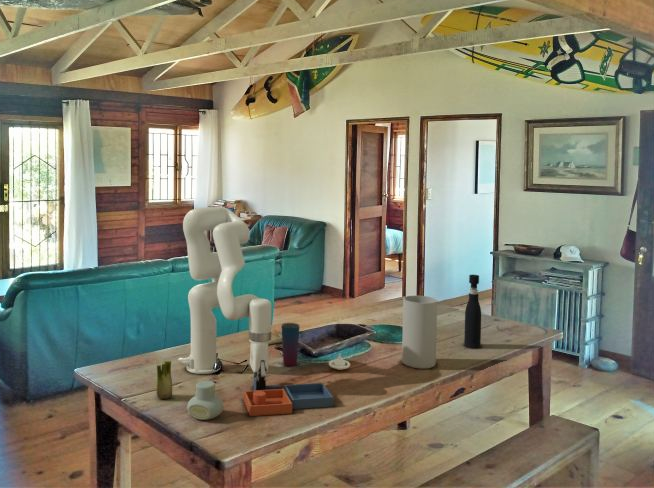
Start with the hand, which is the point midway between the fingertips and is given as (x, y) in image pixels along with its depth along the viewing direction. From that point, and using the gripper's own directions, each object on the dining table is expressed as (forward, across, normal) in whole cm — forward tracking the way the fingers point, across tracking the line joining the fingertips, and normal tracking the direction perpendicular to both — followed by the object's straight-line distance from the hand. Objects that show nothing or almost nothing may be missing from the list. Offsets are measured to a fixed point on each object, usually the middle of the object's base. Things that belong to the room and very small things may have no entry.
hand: (259, 388), depth 204 cm
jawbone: (0, -53, +14) cm, 55 cm away
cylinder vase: (0, -16, +65) cm, 67 cm away
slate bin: (0, +11, +14) cm, 18 cm away
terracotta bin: (0, +14, 0) cm, 14 cm away
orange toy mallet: (0, +14, 0) cm, 14 cm away
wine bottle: (0, -33, +97) cm, 102 cm away
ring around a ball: (0, -15, +33) cm, 36 cm away
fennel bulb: (0, +2, -32) cm, 32 cm away
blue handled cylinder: (0, 0, +3) cm, 3 cm away
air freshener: (0, +18, -20) cm, 27 cm away
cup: (0, -23, +16) cm, 28 cm away
